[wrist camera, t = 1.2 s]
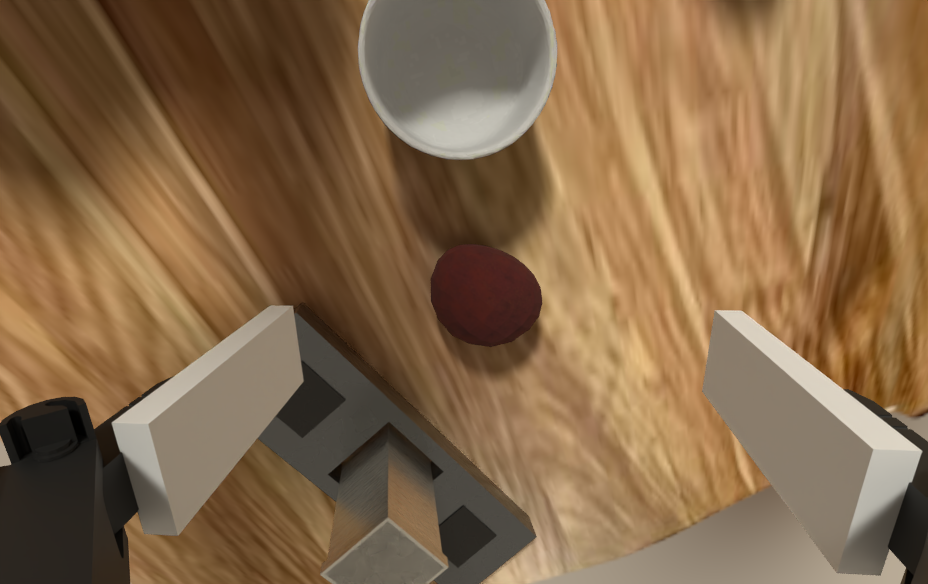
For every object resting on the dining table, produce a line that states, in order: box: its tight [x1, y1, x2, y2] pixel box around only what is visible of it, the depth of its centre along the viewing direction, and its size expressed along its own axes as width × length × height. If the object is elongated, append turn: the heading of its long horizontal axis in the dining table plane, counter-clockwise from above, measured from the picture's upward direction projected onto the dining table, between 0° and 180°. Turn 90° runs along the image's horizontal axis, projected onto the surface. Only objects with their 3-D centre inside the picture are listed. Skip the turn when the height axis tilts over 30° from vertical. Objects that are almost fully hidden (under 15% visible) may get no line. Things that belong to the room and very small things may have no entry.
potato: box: [431, 244, 542, 347], centre depth 35 cm, size 7×8×6 cm
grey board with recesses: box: [258, 302, 537, 584], centre depth 39 cm, size 28×9×3 cm, turn 41°
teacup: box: [358, 0, 557, 160], centre depth 29 cm, size 14×11×8 cm
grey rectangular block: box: [320, 422, 449, 584], centre depth 35 cm, size 5×5×12 cm
